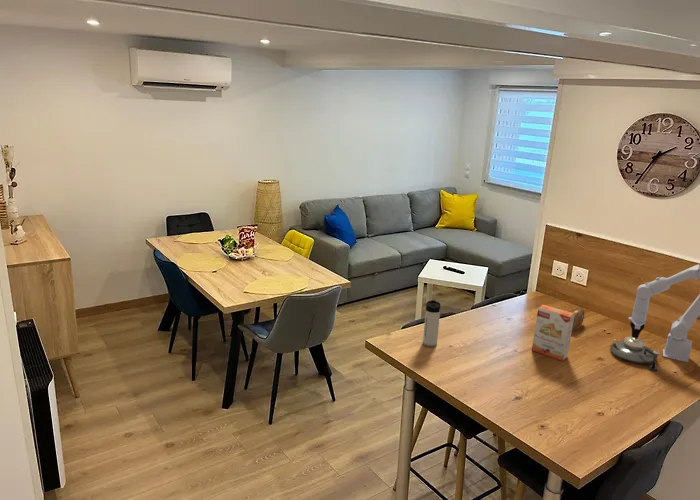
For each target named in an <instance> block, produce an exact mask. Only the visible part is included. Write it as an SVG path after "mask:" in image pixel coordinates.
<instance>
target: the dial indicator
mask: <svg viewBox="0 0 700 500" xmlns="http://www.w3.org/2000/svg"><path fill="white" fill-rule="evenodd" d="M646 352H649V353H650V354H652V355H654V358H653V362H652V363H651V364H648V371H653V372H658V366H656V365H657V360H658V355H660V354H661V352H660V351H659V350H655V349H653V352H652V351H651V350H649V349H647V348H645V351H644V354H645V355H646Z"/></svg>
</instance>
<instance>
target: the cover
mask: <svg viewBox="0 0 700 500" xmlns="http://www.w3.org/2000/svg"><path fill="white" fill-rule="evenodd" d="M623 341H624V346H625V347H626V348H628V349H631V350H634V351H642V350H644V346H646V342H645V341H644V339H642V338H639V337H638V338H636V337H632V336H626V337H624V340H623Z"/></svg>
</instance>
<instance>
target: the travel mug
mask: <svg viewBox="0 0 700 500" xmlns="http://www.w3.org/2000/svg"><path fill="white" fill-rule="evenodd" d="M425 304H426V305H425V313H424V314H425V315H424V326H423V337H422V338H423V340H422V344H423V345H424V347H427V348H434V347H437V345H438V338H439V337H438V335H439V326H440V316H441V303H440V302H438V301H437V300H435V299H431V300H428V301H427V302H426V303H425Z"/></svg>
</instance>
